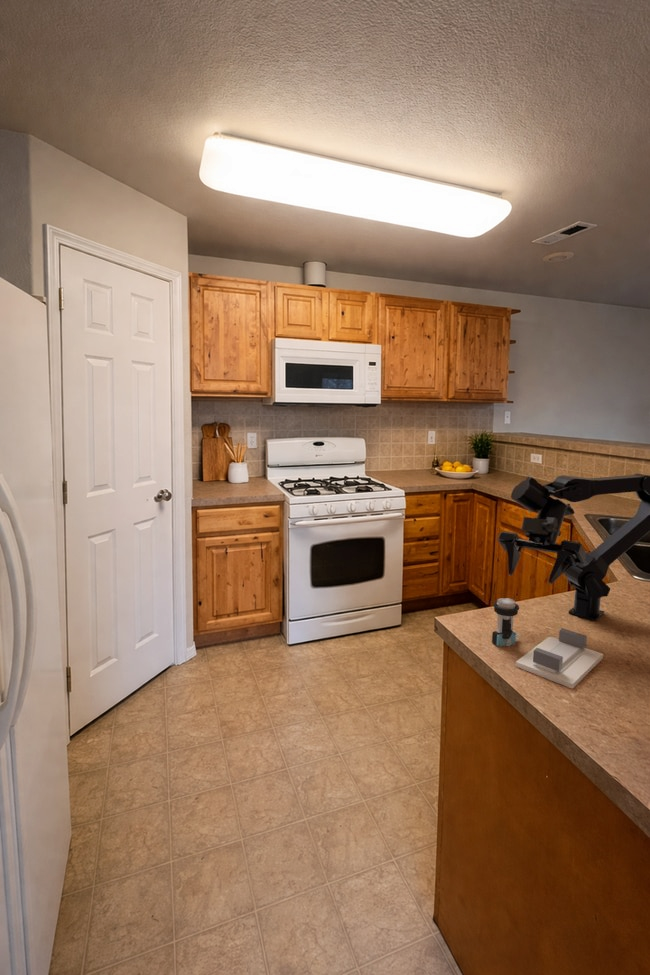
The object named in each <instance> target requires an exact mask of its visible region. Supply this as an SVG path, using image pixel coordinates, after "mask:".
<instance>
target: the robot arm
mask: <svg viewBox="0 0 650 975" xmlns="http://www.w3.org/2000/svg"><path fill="white" fill-rule="evenodd" d="M623 493H624V494H625V493H635V494H636V496H637V498H638V499H639V500H640V501H641V502H640V503H639V505H638V508H637V512H636V513H635V514H634V516H632V517H631V518H630V519H629V520H627V521H626V522H625V523H624V524H623V525H622V526H621V527H619V528H618V529H617V530H616V531H614V533H612V534H611V535H610V536H609V537H608V538H606V539H605V540H604V541H603V542H602V543H601V544H599V545H598V546H597V547H596V548H595V549H593V550H592V551H589V552H586V551H585V549H584V547H583V545H582V543H581V542H580V541H574V540H567V539H563V540H562V541H561V542H560V544H557V539H558V537H561V535H562V531H561V528H562V524H563V521H564V518H565V517H567V516H570V515H574V514H575V511H574V509H573V508H572V506H571V504H570V503H578V502H582V501H587V500H590V499H592V498H593V497H596V496H600V495H611V494H612V495H613V494H623ZM510 494H511V496H510V498H511V499H512V500H513V501H515V502H516V503H517V504H519V505H521V506H522V507H523V508H525V509H526V510H528V511H529V512H531V513H532V512H533V513H534V512H536V511H537V515H536V517H523V520H522V525H521V529H520V530H521V532H525V537H526V538H528V539H523V538H520V536H519V535H518V533H516V532H510V531H505V530H504V531H502V532H500V533H499V534H498V537H497V541H498V544H500V546H501V548H502V549H503V550H504V551H505V552H506V553H507V561H508V563H507V567H508V575H509V576H512V575H513V574H514V572H515V570H516V568H517V565H518V563H519V560H520V557H521V553H520V552H522V550H523V549H530V550H536V551H542V552H547V553H548V552H549V553H555V554H556V559H555V562H554V564H553V567H552V569H551V572H550V574H549V578H548V583H549V584H550V585H551V584H553V583H555V581H556V580H557V579H558V578H559V577H560V576H561V575H562V574H564V577H565V578H566V579H568V583H569V585H570V586H572V587H574V588H575V590H574V601H573V604H574V605H573V607H572V608H570V609H569V610H568V613H569V614H571V615H573V616H577V617H581V618H584V619H587V620H591V621H597V620H598V619H599V618H601V617H602V616H603V615H604V614H605V611H604V610H600V608H601V598H604V597H608V596H609V593H610V591H611V588H610V587H609V585H608V584H607V583H606V582H605V581H604V579H605V578H606V577H607V572H608V570H609V567H610V565H612V563H614V562H615V561H616V560H617V559H619V558H620V557H621V556H622V555H624V553H626V552H627V551H628V550H629V549H631V548H632V547H633V546H634V545H635V544H637V543H638V542H639V541H640V540H641V539H642V538H643V537H645V536H646V535H647V534H649V532H650V475H649V474H648V475H647V474H643V473H635V474H628V475H615V476H613V475H612V476H601V477H582V476H573V475H559V476H557V477H556V478H555V479H554V481H551V482H548V483H546V484H543V485H542V484H541V483H539V481H538V480H536V479H535V478H534V477H531V476H527V477H526V479H524V480H522V481H520V482H519V483H517V485H515V486H514V488H513V489H512V491H511V493H510ZM562 500H565V501H567V502H570V503H565V502H564V501H562Z"/></svg>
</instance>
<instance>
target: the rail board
mask: <svg viewBox="0 0 650 975" xmlns="http://www.w3.org/2000/svg"><path fill="white" fill-rule="evenodd" d="M558 633H559V634H558V638H556V637H553V636H547V637H546V638H545V639H544V640H543V641H541V642H540V643H539V644H537V645H536V646H535V647H533V648H532V649H531V650H529V651H528V652H526V654H524V655H523V656H521V657H520V658H519V659H518V660H516V661H515V667H516V668H518V669H521V670H523V671H526V672H529V673H532V674H534V675H536V676H539V677H540V678H541V677H542V678H544V679H547V680H549V681H552V682H554V683H557V684H559V685H562V686H564V687H567V688H569V689H572V690H573V689H575V687H576V686H577V685H578V684H579V683H580V682H581V681H582V680H584V678H585V677H586V676H587V675H588V674H589V673H590V671H592V670H593V669H594V668H595V667H596V666H597V665H598V664H599V663H600V662H601V661H602V660H603V659H604V658H603V657H604V654H603V653H601V652H598V651H596V650H592V649H589V648H587V642H588V640H587V639H588V635H585V634H584V633H583V634H582V633H580V632H575V631H573V630H569V629H567V628H561V629H559V632H558Z"/></svg>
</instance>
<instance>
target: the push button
mask: <svg viewBox="0 0 650 975" xmlns="http://www.w3.org/2000/svg"><path fill="white" fill-rule="evenodd" d="M492 606H493V612H495V614H497V625H496V626H497V627H496V630H494V631H492V635H491V643H492V644H494V645H495V646H496V647H498V648H501V647H506V646H507V647H511V645H514V644H516V642H517V640H520V639H521V638H519V637H520V634H519V633H516V632H515V631H514V616H515V617H516V616H517V615H518V612H519V610H520V605H518V604H517V603H516V601H515V600H514V599H512V598H509V597H508V598H506V597H501V598H498V599H497V601H494V602H493V605H492Z"/></svg>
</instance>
